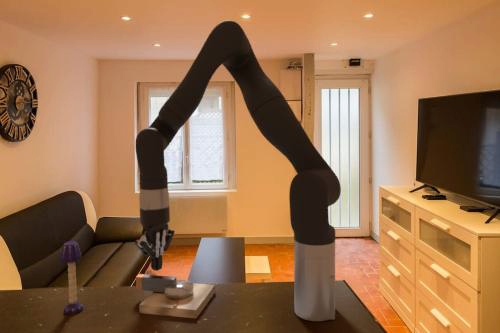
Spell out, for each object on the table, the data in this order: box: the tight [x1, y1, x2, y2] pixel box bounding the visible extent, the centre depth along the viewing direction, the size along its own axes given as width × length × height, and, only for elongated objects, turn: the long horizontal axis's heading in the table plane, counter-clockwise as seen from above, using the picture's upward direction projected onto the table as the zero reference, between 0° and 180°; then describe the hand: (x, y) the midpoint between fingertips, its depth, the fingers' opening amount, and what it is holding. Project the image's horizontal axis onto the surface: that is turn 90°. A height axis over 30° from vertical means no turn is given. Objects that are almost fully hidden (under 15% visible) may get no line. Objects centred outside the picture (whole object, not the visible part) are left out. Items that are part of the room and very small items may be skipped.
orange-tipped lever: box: [135, 273, 193, 299], centre depth 94 cm, size 15×7×4 cm, turn 77°
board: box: [138, 282, 216, 319], centre depth 94 cm, size 14×14×2 cm
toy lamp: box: [59, 240, 84, 315], centre depth 89 cm, size 5×5×17 cm
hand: (156, 269), depth 100 cm, fingers closed
